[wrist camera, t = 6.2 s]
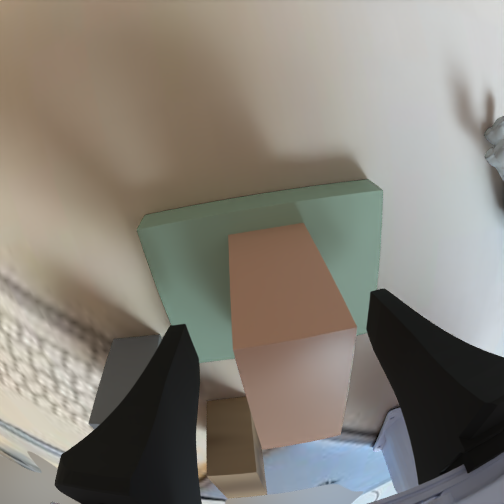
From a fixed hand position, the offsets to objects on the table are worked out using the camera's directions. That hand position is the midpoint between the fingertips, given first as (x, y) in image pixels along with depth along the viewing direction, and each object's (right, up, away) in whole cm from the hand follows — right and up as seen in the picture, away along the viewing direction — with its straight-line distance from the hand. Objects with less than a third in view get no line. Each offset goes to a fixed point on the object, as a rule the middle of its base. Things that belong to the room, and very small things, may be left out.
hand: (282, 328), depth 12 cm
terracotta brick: (0, +1, +2) cm, 2 cm away
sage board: (0, +2, +3) cm, 4 cm away
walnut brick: (-2, -10, +10) cm, 14 cm away
